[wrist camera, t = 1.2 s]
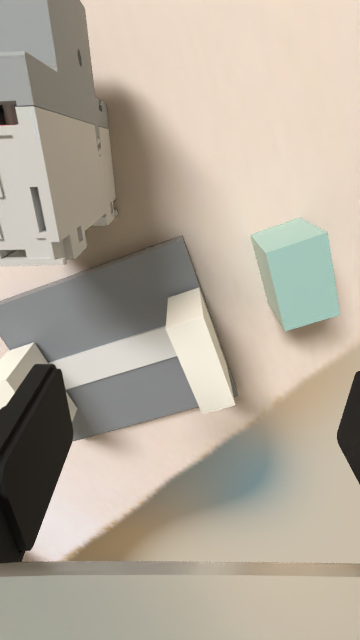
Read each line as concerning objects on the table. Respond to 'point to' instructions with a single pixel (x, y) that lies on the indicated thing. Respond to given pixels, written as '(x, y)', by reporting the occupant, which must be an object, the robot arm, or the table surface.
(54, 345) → the rail board
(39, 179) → the circuit breaker
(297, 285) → the block
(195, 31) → the table surface
